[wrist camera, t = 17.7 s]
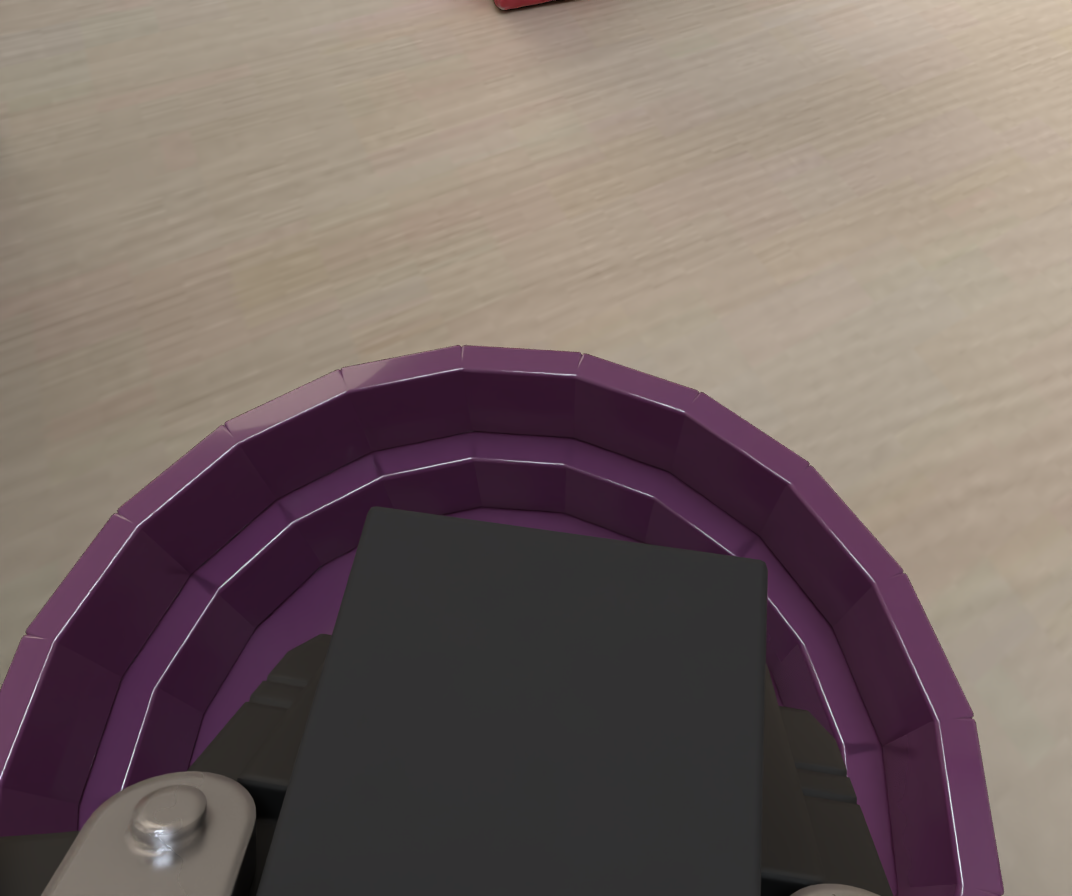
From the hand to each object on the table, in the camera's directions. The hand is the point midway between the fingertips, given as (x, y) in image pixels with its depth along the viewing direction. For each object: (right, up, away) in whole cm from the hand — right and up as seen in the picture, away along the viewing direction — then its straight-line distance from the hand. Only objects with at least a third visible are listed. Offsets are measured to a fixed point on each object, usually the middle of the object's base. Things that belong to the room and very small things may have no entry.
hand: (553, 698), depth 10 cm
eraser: (0, -5, +4) cm, 6 cm away
